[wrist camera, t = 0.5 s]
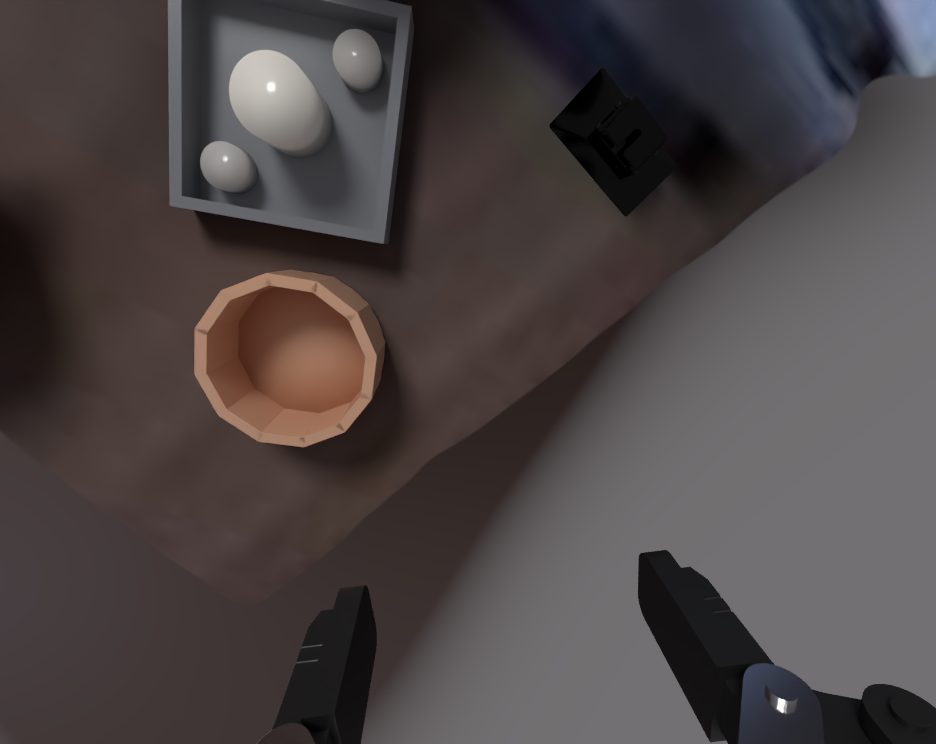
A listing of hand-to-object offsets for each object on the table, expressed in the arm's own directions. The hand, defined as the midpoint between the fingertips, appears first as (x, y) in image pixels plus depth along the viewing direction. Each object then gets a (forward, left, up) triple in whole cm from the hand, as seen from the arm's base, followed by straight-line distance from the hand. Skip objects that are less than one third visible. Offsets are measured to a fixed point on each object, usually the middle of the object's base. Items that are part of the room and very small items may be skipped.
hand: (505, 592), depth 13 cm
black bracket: (-19, +9, -27) cm, 34 cm away
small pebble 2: (-21, -11, -26) cm, 35 cm away
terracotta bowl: (+1, -13, -26) cm, 29 cm away
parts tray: (-16, -15, -26) cm, 34 cm away
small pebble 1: (-12, -19, -26) cm, 34 cm away
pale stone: (-16, -15, -26) cm, 34 cm away
